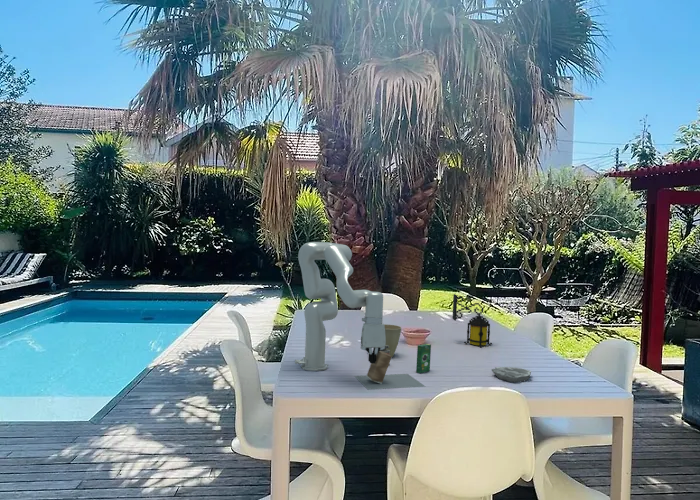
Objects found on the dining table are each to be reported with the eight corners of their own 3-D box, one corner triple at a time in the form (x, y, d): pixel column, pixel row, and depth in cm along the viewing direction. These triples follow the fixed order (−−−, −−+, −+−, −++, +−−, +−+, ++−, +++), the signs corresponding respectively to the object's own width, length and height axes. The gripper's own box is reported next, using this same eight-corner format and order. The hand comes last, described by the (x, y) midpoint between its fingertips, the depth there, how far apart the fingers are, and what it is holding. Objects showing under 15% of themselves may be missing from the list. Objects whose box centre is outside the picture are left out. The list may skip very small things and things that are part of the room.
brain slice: (501, 370, 255) (501, 364, 255) (535, 377, 244) (536, 371, 244) (484, 378, 240) (484, 371, 240) (520, 386, 229) (520, 379, 229)
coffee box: (425, 369, 250) (426, 342, 249) (430, 371, 248) (431, 343, 247) (415, 372, 244) (416, 345, 243) (420, 373, 242) (421, 346, 242)
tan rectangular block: (371, 380, 219) (381, 353, 220) (366, 376, 226) (376, 349, 226) (381, 383, 220) (391, 356, 221) (376, 379, 227) (386, 352, 228)
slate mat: (367, 391, 212) (367, 389, 212) (353, 377, 231) (353, 376, 231) (425, 388, 219) (425, 386, 219) (407, 375, 238) (407, 373, 238)
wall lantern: (495, 348, 304) (497, 298, 303) (454, 347, 304) (457, 296, 303) (488, 342, 320) (490, 294, 319) (449, 341, 321) (452, 293, 320)
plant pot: (398, 360, 266) (400, 330, 265) (370, 358, 269) (371, 327, 268) (401, 354, 280) (402, 325, 280) (374, 352, 283) (375, 323, 283)
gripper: (359, 322, 216) (358, 365, 217) (392, 321, 220) (391, 364, 221) (354, 319, 223) (353, 361, 224) (387, 319, 227) (385, 360, 228)
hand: (372, 362), depth 222 cm, fingers closed
